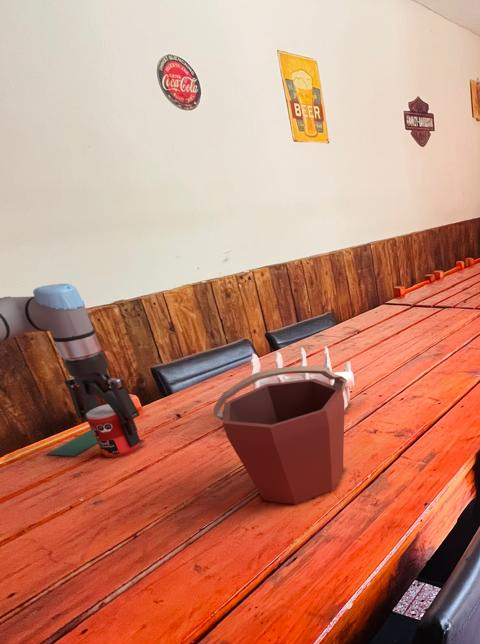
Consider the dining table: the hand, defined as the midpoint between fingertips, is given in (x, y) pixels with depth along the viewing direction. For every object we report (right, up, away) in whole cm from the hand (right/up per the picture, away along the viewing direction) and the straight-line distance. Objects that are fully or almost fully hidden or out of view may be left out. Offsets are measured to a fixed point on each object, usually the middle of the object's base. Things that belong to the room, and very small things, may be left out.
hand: (120, 443), depth 124 cm
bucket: (+51, -7, -17) cm, 54 cm away
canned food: (0, -2, +1) cm, 2 cm away
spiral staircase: (+42, +8, +15) cm, 45 cm away
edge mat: (-13, 0, +6) cm, 14 cm away
